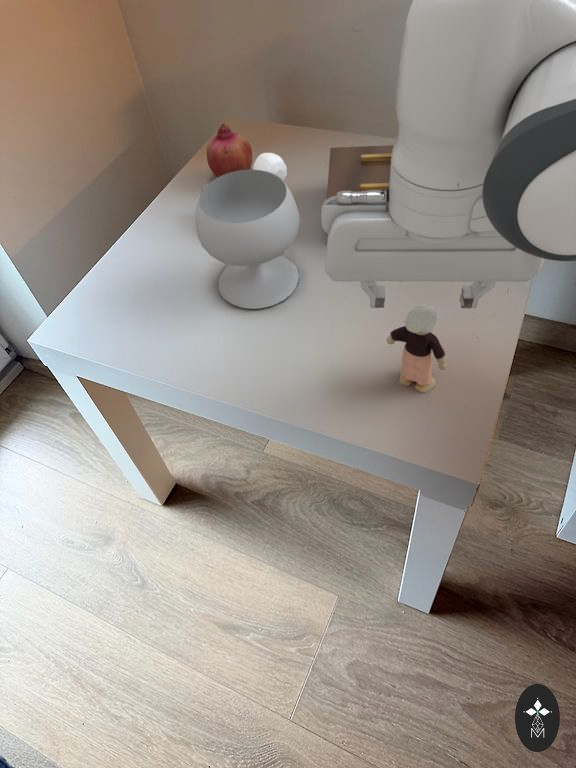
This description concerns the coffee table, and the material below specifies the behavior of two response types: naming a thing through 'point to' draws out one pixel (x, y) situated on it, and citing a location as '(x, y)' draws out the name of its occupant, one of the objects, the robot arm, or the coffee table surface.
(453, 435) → the coffee table surface
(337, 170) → the box with brass rails
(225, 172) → the fruit
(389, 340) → the grandmother figurine
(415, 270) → the robot arm
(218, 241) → the chalice
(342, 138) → the coffee table surface
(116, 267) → the coffee table surface
